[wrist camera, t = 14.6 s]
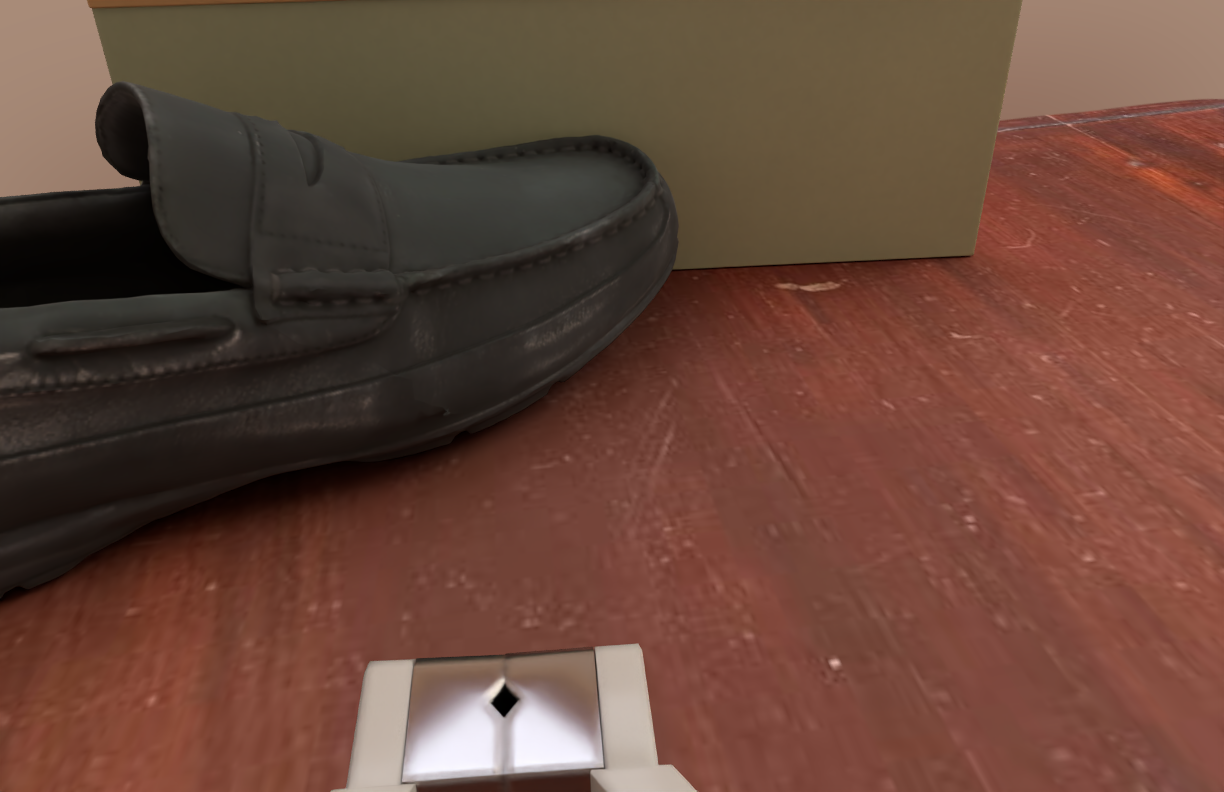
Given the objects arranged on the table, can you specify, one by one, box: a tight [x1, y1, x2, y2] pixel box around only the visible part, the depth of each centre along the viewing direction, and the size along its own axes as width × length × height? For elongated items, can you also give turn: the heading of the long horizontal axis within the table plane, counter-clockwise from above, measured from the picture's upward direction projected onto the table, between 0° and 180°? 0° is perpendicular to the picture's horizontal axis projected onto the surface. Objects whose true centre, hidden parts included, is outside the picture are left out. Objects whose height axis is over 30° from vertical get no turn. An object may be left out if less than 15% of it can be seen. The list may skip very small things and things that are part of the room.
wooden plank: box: [87, 0, 1022, 270], centre depth 36 cm, size 30×2×11 cm, turn 95°
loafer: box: [0, 81, 679, 599], centre depth 27 cm, size 10×29×10 cm, turn 131°
